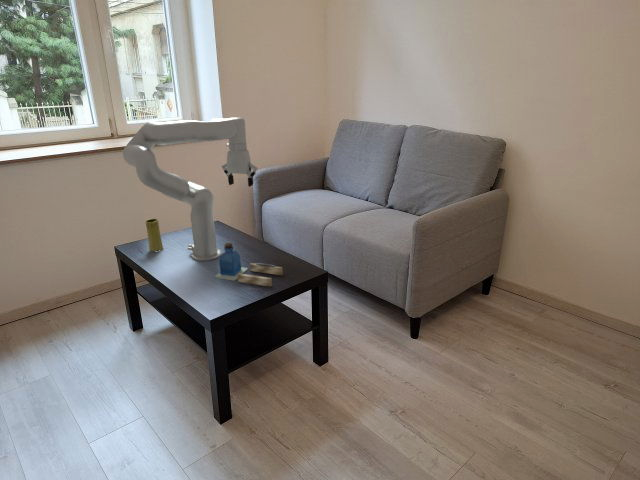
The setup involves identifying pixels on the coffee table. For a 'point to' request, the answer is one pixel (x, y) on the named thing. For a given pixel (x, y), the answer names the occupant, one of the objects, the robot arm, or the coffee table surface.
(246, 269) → the mat
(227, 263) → the perfume bottle
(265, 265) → the cradle
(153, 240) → the vase
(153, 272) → the coffee table surface
